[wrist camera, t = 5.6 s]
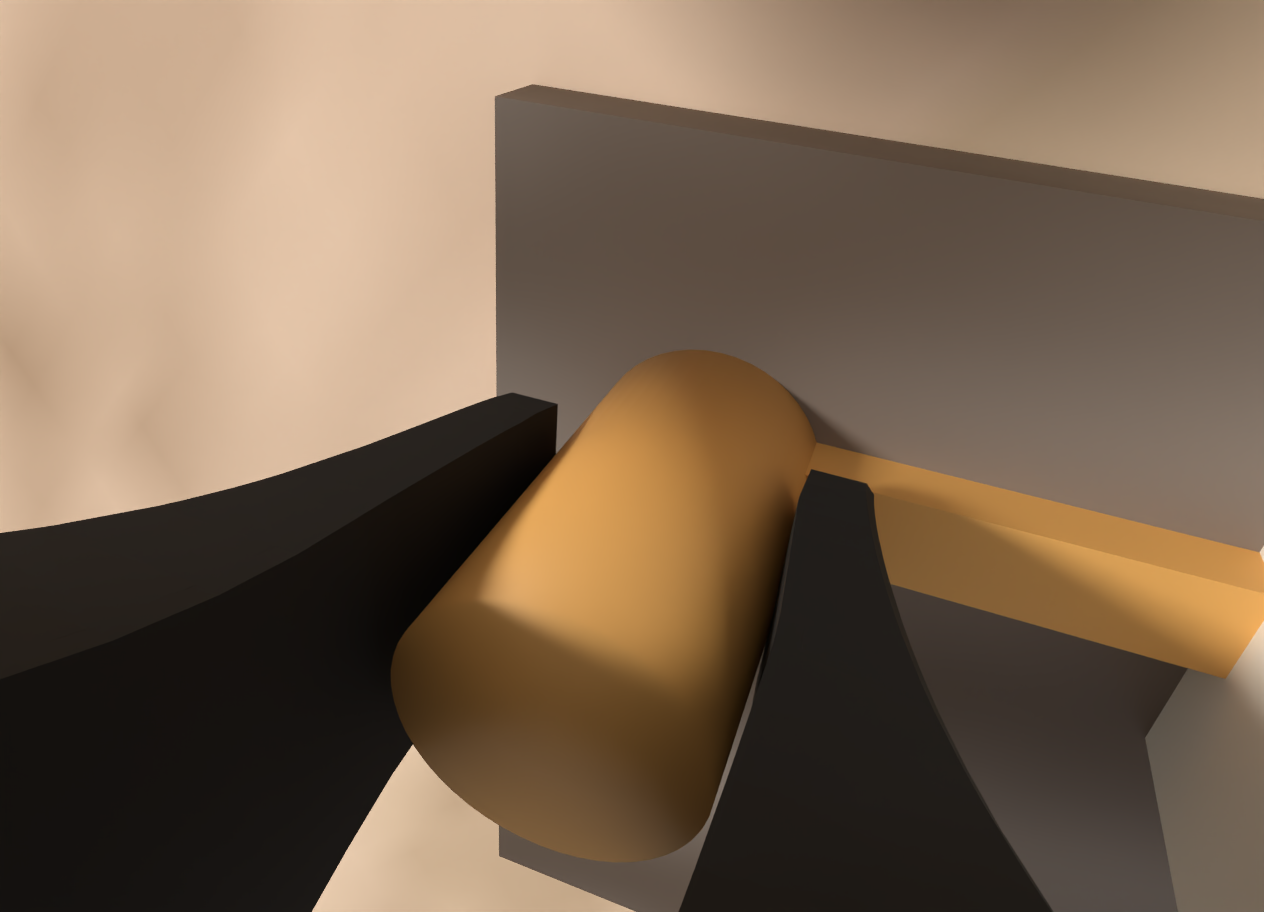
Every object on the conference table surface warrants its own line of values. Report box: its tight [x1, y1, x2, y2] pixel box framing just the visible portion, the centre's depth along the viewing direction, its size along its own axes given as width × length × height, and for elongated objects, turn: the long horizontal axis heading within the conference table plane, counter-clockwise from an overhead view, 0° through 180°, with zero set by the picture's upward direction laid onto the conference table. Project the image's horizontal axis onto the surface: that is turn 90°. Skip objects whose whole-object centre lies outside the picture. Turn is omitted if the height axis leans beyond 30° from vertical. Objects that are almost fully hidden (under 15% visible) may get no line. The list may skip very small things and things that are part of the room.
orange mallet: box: [391, 350, 1264, 912], centre depth 8 cm, size 5×13×5 cm, turn 85°
